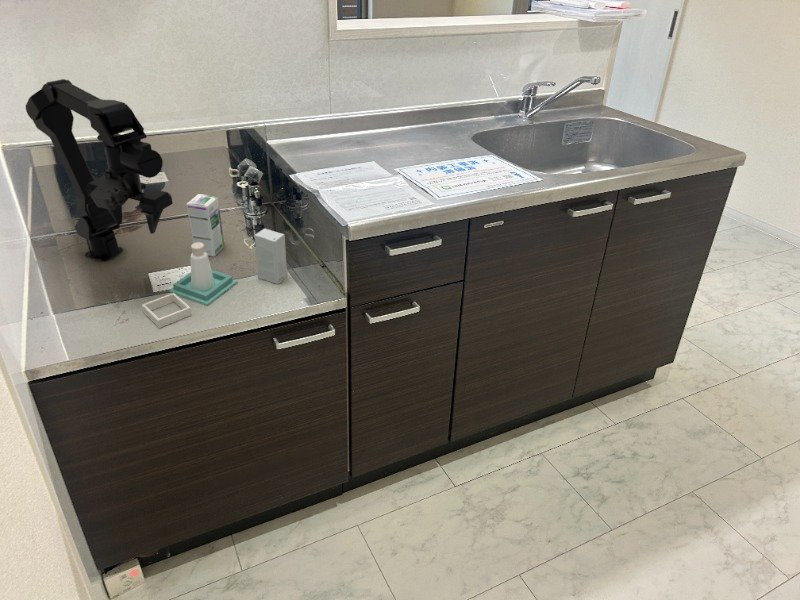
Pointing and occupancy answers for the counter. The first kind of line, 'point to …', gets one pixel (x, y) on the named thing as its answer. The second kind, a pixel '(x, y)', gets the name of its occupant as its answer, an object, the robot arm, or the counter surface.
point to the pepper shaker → (200, 269)
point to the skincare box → (271, 255)
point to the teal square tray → (203, 297)
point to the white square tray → (171, 317)
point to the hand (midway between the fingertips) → (136, 228)
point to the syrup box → (206, 223)
